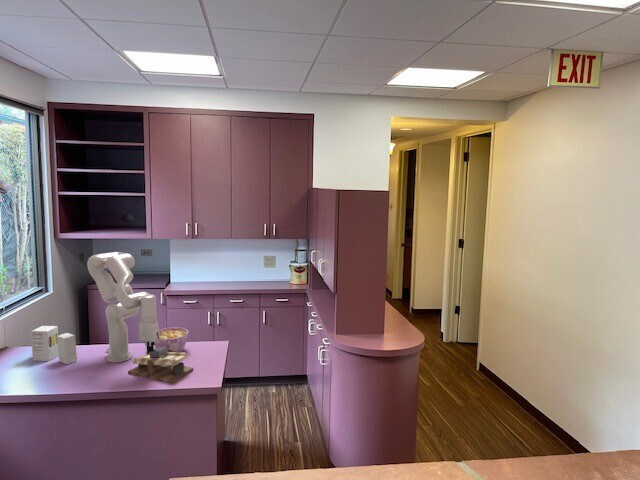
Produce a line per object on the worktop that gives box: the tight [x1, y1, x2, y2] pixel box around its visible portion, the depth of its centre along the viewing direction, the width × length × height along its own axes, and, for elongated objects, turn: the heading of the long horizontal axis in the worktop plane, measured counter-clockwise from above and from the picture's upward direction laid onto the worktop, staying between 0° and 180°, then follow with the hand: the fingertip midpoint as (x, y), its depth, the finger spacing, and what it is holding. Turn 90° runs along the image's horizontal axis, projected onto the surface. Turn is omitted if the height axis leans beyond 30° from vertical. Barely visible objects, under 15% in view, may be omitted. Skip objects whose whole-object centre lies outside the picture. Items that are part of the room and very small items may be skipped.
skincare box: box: [57, 332, 78, 365], centre depth 231 cm, size 8×6×15 cm
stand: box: [127, 349, 194, 384], centre depth 221 cm, size 28×16×9 cm, turn 69°
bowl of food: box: [154, 326, 189, 353], centre depth 247 cm, size 20×20×12 cm
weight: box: [149, 347, 168, 359], centre depth 221 cm, size 6×6×4 cm
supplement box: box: [30, 325, 59, 362], centre depth 236 cm, size 10×9×17 cm
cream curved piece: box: [132, 351, 189, 365], centre depth 221 cm, size 26×14×3 cm, turn 69°
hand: (150, 352), depth 223 cm, fingers closed
